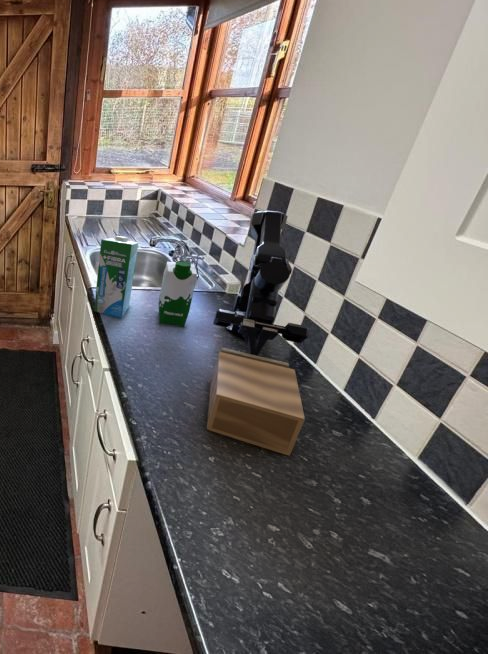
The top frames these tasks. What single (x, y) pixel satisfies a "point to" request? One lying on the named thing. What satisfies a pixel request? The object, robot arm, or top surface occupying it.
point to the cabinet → (255, 403)
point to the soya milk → (176, 293)
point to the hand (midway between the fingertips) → (252, 359)
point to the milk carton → (115, 275)
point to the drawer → (255, 357)
